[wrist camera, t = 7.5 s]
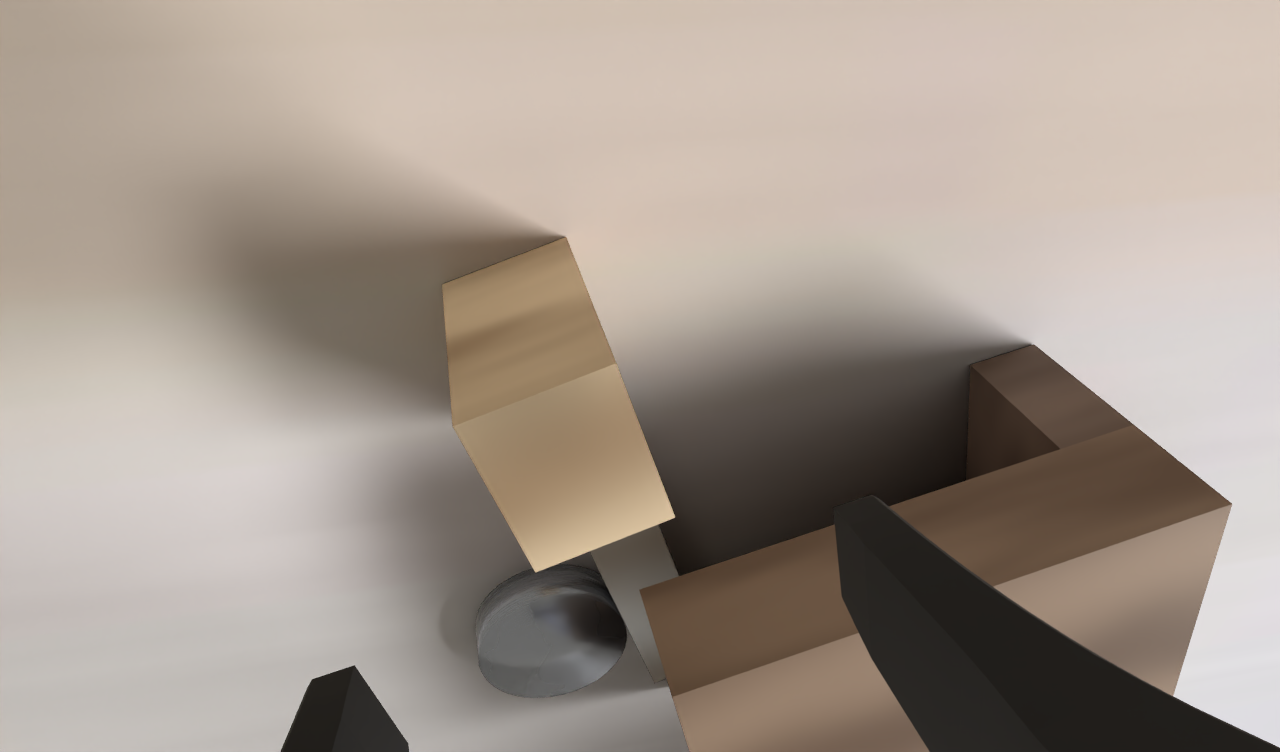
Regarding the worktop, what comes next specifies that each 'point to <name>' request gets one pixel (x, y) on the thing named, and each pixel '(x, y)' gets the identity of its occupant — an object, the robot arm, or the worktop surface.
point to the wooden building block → (557, 427)
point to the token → (549, 632)
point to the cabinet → (982, 542)
